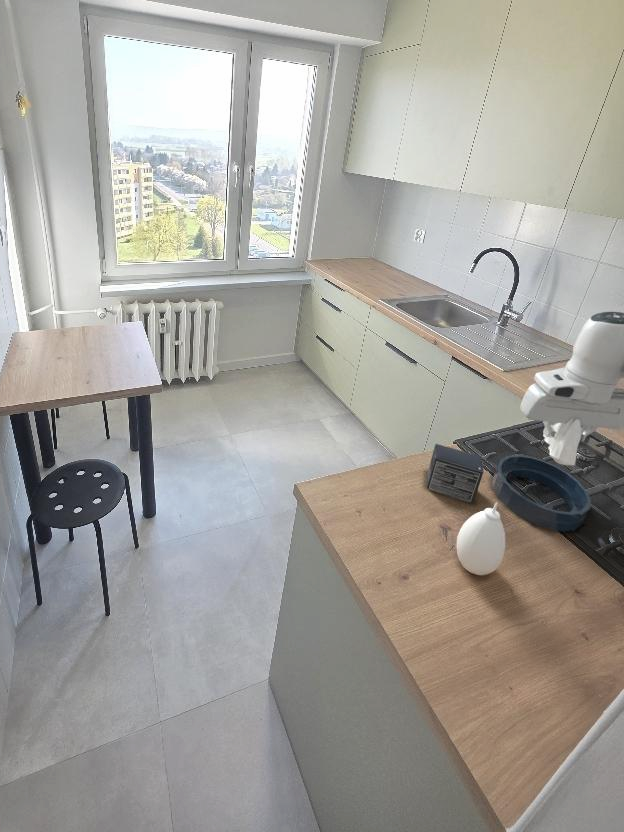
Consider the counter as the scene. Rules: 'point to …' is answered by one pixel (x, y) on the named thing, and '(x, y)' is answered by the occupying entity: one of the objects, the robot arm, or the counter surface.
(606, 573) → the counter surface
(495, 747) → the counter surface
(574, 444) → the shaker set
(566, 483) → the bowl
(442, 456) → the small box
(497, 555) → the white bulb air blower
